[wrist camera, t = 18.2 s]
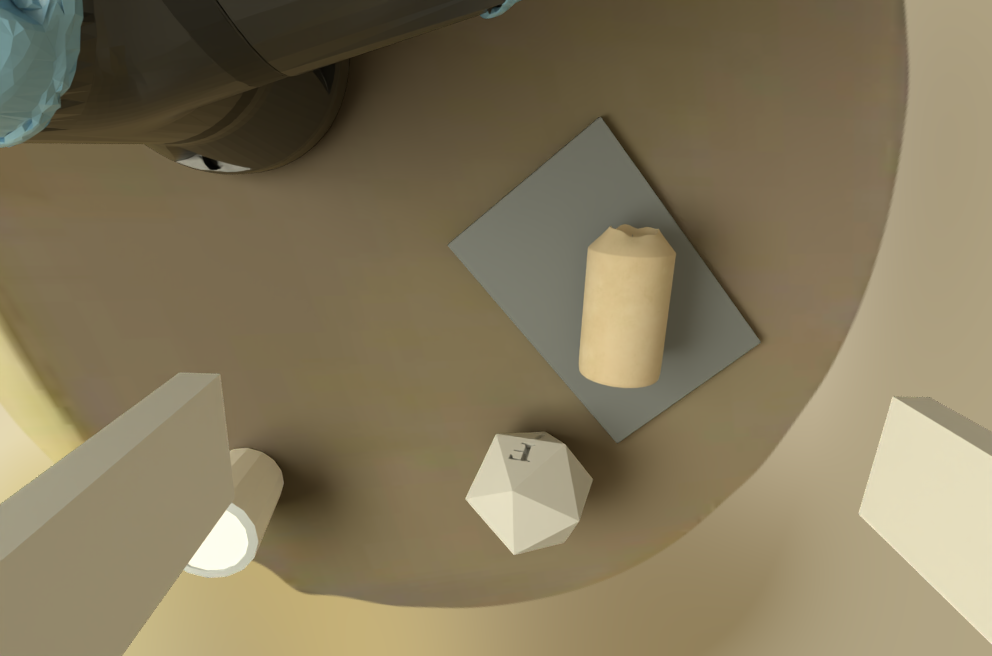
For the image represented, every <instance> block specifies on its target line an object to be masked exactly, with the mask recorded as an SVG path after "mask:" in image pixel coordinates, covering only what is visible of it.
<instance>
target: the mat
mask: <svg viewBox="0 0 992 656" xmlns="http://www.w3.org/2000/svg"><path fill="white" fill-rule="evenodd" d="M623 224H627V225H630V226H632V227H634V228H637V229H640V228H644V227H651V228H654V229H659V230H660V232H661V233H662V235H663V236H664V238H665V239H666V240H667V242H668V243H669V244H670V246H671V247H672V248H673V250H674V251H675V252H676V258H675V266H674V274H673V281H672V289H671V297H670V304H669V312H668V320H667V327H666V335H665V343H664V350H663V358H662V365H661V372H660V376H659V379H658V381H657V382H656V383H654V384H652V385H649V386H646V387H640V388H619V387H612V386H607V385H603V384H599V383H596V382H594V381H591V380H589V379H587V378H586V377H584V376H583V375H582V374H581V373H580V371H579V351H580V339H581V326H582V314H583V301H584V289H585V277H586V264H587V252H588V247H589V246H590V245H591V244H592V243H593V242H594V241H595V240H596V239H597V238H598V237H599V236H601V235H602V234H603V233H604V232H605V231H606V230H607V229H608V228H609V226H612V228H614V229H616V228H618V227H619V226H620V225H623ZM448 247H449V248H450V249H451V250H452V251H453V252H454V254H455V255H456V256H457V257H458V258H459V259H460V261H461V262H462V263H463V264H464V265H465V266H466V268H467V269H468V270H469V271H470V272H471V274H472V275H473V276H474V277H475V278H476V279H477V281H478V282H479V283H480V284H481V285H482V286H483V288H484V289H485V290H486V291H487V292H488V293H489V295H490V296H491V297H492V298H493V299H494V300H495V302H496V303H497V304H498V305H499V306H500V307H501V309H502V310H503V311H504V312H505V313H506V314H507V316H508V317H509V318H510V319H511V320H512V321H513V323H514V324H515V325H516V326H517V327H518V328H519V330H520V331H521V332H522V333H523V334H524V335H525V337H526V338H527V339H528V340H529V341H530V342H531V344H532V345H533V346H534V347H535V348H536V349H537V351H538V352H539V353H540V354H541V355H542V356H543V358H544V359H545V360H546V361H547V362H548V364H549V365H550V366H551V367H552V368H553V369H554V371H555V372H556V373H557V374H558V375H559V376H560V378H561V379H562V380H563V381H564V382H565V383H566V385H567V386H568V387H569V388H570V389H571V390H572V392H573V393H574V394H575V395H576V396H577V397H578V399H579V400H580V401H581V402H582V403H583V404H584V406H585V407H586V408H587V409H588V410H589V411H590V413H591V414H592V415H593V416H594V417H595V418H596V420H597V421H598V422H599V423H600V424H601V425H602V427H603V428H604V429H605V430H606V431H607V432H608V434H609V435H610V436H611V437H612V438H613V439H614V441H615V442H616V443H619V442H620V441H621V440H623V439H624V438H626V437H627V436H629V435H630V434H631V433H633V432H634V431H636V430H637V429H638V428H640V427H641V426H643V425H644V424H646V423H647V422H648V421H650V420H651V419H653V418H654V417H656V416H657V415H658V414H660V413H661V412H663V411H664V410H665V409H667V408H668V407H670V406H671V405H673V404H674V403H675V402H677V401H678V400H680V399H681V398H683V397H684V396H685V395H687V394H688V393H690V392H691V391H693V390H694V389H695V388H697V387H698V386H700V385H701V384H702V383H704V382H705V381H707V380H708V379H710V378H711V377H712V376H714V375H715V374H717V373H718V372H720V371H721V370H722V369H724V368H725V367H727V366H728V365H729V364H731V363H732V362H734V361H735V360H737V359H738V358H739V357H741V356H742V355H744V354H745V353H747V352H748V351H749V350H751V349H752V348H754V347H755V346H756V345H758V344H759V343H761V342H760V340H759V339H758V337H757V336H756V335H755V333H754V332H753V330H752V329H751V328H750V326H749V325H748V323H747V322H746V321H745V319H744V318H743V316H742V315H741V314H740V312H739V311H738V309H737V308H736V306H735V305H734V304H733V302H732V301H731V299H730V298H729V297H728V295H727V294H726V292H725V291H724V290H723V288H722V287H721V285H720V284H719V283H718V281H717V280H716V278H715V277H714V276H713V274H712V273H711V271H710V270H709V269H708V267H707V266H706V264H705V263H704V261H703V260H702V259H701V257H700V256H699V254H698V253H697V252H696V250H695V249H694V247H693V246H692V245H691V243H690V242H689V240H688V239H687V238H686V236H685V235H684V233H683V232H682V231H681V229H680V228H679V226H678V225H677V224H676V222H675V221H674V219H673V218H672V216H671V215H670V214H669V212H668V211H667V209H666V208H665V207H664V205H663V204H662V202H661V201H660V200H659V198H658V197H657V195H656V194H655V193H654V191H653V190H652V188H651V187H650V186H649V184H648V183H647V181H646V180H645V179H644V177H643V176H642V174H641V173H640V171H639V170H638V169H637V167H636V166H635V164H634V163H633V162H632V160H631V159H630V157H629V156H628V155H627V153H626V152H625V150H624V149H623V148H622V146H621V145H620V143H619V142H618V141H617V139H616V138H615V136H614V135H613V134H612V132H611V131H610V129H609V128H608V126H607V125H606V124H605V122H604V121H603V119H602V118H601V117H599V118H597V119H596V120H595V121H594V122H593V123H592V124H590V125H589V126H588V127H587V128H586V129H584V130H583V131H582V132H581V133H580V134H578V135H577V136H576V137H575V138H574V139H573V140H571V141H570V142H569V143H568V144H567V145H565V146H564V147H563V148H562V149H561V150H559V151H558V152H557V153H556V154H555V155H553V156H552V157H551V158H550V159H549V160H548V161H546V162H545V163H544V164H543V165H542V166H540V167H539V168H538V169H537V170H536V171H534V172H533V173H532V174H531V175H530V176H529V177H527V178H526V179H525V180H524V181H523V182H521V183H520V184H519V185H518V186H517V187H515V188H514V189H513V190H512V191H511V192H510V193H508V194H507V195H506V196H505V197H504V198H502V199H501V200H500V201H499V202H498V203H496V204H495V205H494V206H493V207H492V208H491V209H489V210H488V211H487V212H486V213H485V214H483V215H482V216H481V217H480V218H479V219H477V220H476V221H475V222H474V223H473V224H472V225H470V226H469V227H468V228H467V229H466V230H464V231H463V232H462V233H461V234H460V235H458V236H457V237H456V238H455V239H454V240H452V241H451V242H450V243H449V244H448Z"/></svg>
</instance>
